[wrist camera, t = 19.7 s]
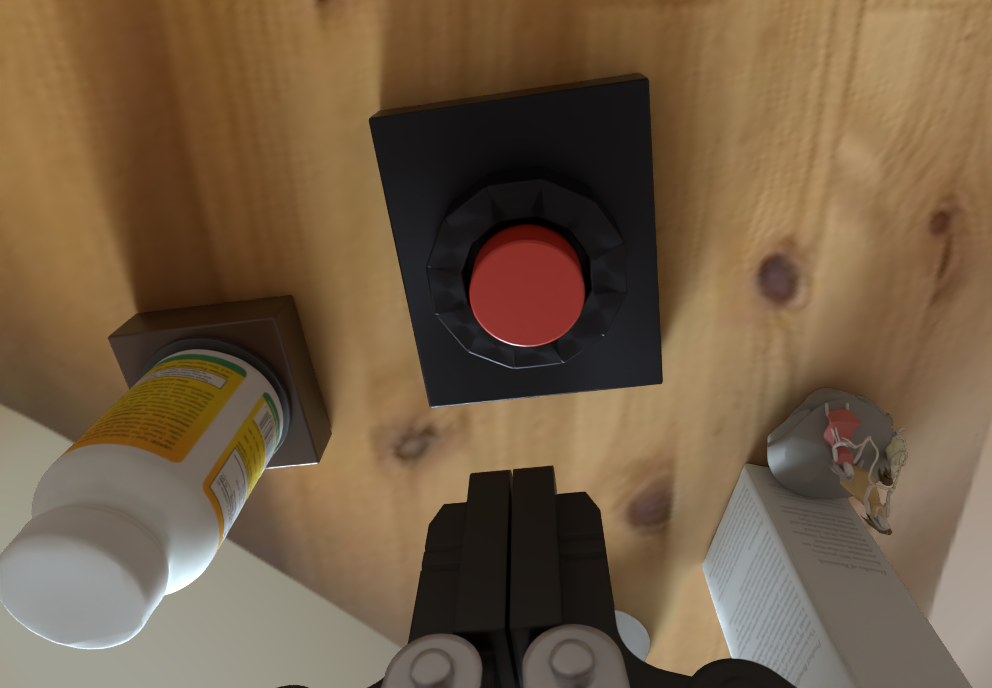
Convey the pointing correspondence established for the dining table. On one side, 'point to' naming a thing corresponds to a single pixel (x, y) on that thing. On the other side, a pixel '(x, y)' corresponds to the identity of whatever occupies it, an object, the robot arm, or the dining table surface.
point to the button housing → (527, 200)
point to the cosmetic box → (817, 594)
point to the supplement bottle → (141, 500)
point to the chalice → (633, 634)
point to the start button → (527, 285)
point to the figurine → (839, 451)
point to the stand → (252, 338)
